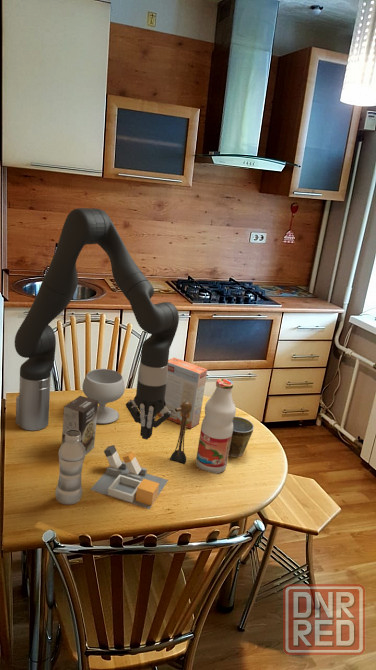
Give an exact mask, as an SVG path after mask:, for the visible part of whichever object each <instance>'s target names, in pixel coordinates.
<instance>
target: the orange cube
mask: <svg viewBox="0 0 376 670" xmlns="http://www.w3.org/2000/svg"><path fill="white" fill-rule="evenodd" d="M158 491H159V483H156V482H153V481H150V480H147V479H143V480H142V482H141V483H140V484H139V486H138V487H137V493H136V501H138V502H141V503H144V504H147V505H151V507H153V505H154V503H155V502H156V500H157V499H158V496H159V495H158ZM156 498H157V499H156ZM154 501H155V502H154ZM152 504H153V505H152Z"/></svg>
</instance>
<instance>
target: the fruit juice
mask: <svg viewBox="0 0 376 670" xmlns="http://www.w3.org/2000/svg"><path fill="white" fill-rule="evenodd" d="M215 387H216V388H215V389H214V391H213V394H212V395H211V397H210V398H209V399H208V400H207V402H206V403H205V404H204V405H205V406H204V417H203V419H202V422H201V426H200V434H199V439H198V444H197V452H196V457H195V464H196V466H197V468H198V469H200V470H202V471H204V472H209V473H212V474H220V473H221V474H222V472H224V471H225V470H226V467H227V465H228V460H229V459H228V458H229V450H230V444H231V438H232V433H233V419H234V417H236V413H237V406H236V405H235V402H234V399H233V395H232V390H233V387H234V382H233V381H232V380H231V379H227V378H219V379H216V382H215Z"/></svg>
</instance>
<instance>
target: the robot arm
mask: <svg viewBox="0 0 376 670" xmlns="http://www.w3.org/2000/svg"><path fill="white" fill-rule="evenodd" d="M96 244H97V245H98V246H99V247H100V248H101V249H102V250H103V251H104V252H105V254H106V255H107V256H108V258H109V262H110V266H111V273H112V276H113V279H114V282H115V284H116V286H117V287H118V288H119V290H120V291H121V292H122V293H121V294H123V296H124V297H125V298H126V299H127V301H128V302H129V304H130V308H131V310H132V313H133V315H134V318H135V319H136V322H137V324H138V326H139V327H140V329H141V330H142V331H144V332H145V333H146V334H149V335H150V336H149V337H148V338H146V339H145V340H144V341H143V342H142V345H141V352H140V360H139V366H138V371H137V382H136V383H137V384H136V391H135V396H134V398H133V399H129V400H128V401H127V402H126V403H125V406H126V408H127V410H128V412H129V414H130V415H131V417H132V419H133V420H134V422H135V423H138V424H140V437H141V439H143V440H149V439H150V438H151V437H152V435H153V430H154V429H155V428H158V427H159V426H161V425H162V424H163V423H164V422H165V421H167V420H169V419H168V418H169V417H170V416H171V414H172V413H173V411H172V410H168V408H167V407H166V403H165V392H166V384H167V379H168V376H167V375H168V360H169V359H170V358H169V357H170V349H171V346H172V343H173V341H174V339H175V336H176V333H177V331H178V327H179V322H180V316H179V311H178V308H177V307H176V306H175V304H173V303H171V302H169V301H163V302H158V303H153V302H152V298H153V296H154V294H155V289H154V286H153V285H152V284H151V282H150V281H149V279H148V278H147V277H146V275H145V274H144V273H143V271H142V270H141V268H139V267H138V264H137V263H136V262H135V260H134V259H133V258H132V256H131V255H130V253H129V251H128V249H127V247H126V245H125V242H124V241H123V240H122V238H121V236H120V234H119V232H118V230H117V228H116V226H115V224H114V223H113V221H112V219H111V217H110V216H109V215H108V214H107V212H106V211H104V210H103V209H100V208H87V207H86V208H85V207H81V208H74V209H72V210H71V211H70V212H69V213H68V214H67V216H66V218H65V221H64V223H63V226H62V229H61V233H60V235H59V239H58V243H57V246H56V249H55V251H54V254H53V256H52V259H51V262H50V264H49V267H48V268H47V271H46V273H45V275H44V277H43V279H42V281H41V283H40V286H39V289H38V291H37V294H36V295H35V298H34V300H33V302H32V304H31V306H30V308H29V311H28V312H27V313H26V316H25V318H24V320H23V321H22V323H21V324H20V326H19V327H18V330H17V331H16V334H15V336H14V348H15V351H16V353H17V355H18V356H19V357H21V358H25V359H27V360H25V361H24V362H23V363H22V364H21V366H20V367H19V390H18V391H19V392H18V393H19V395H17V396H16V399H15V401H16V402H15V404H16V405H15V424H16V425H17V426H19V427H20V429H23V430H25V431H40V430H43V429H45V428H47V426H48V425H49V417H50V401H51V400H50V398H51V397H50V396H51V394H50V393H51V380H52V379H51V378H52V376H51V375H52V370H53V369H54V368H53V367H54V365H55V357H56V347H57V346H56V345H57V342H56V341H57V340H56V335H55V331H54V328H53V327H52V326H50V325H49V324H51V323H52V321H54V320H55V319H57V317H58V316H59V315H60V314H61V313H62V312H63V311H65V309H66V308H67V307H68V305H69V304H70V303H71V301H72V299H73V297H74V295H75V293H76V291H77V288H78V285H79V276H78V270H77V260H78V258H79V255H80V253H81V252H82V250H83V249H84V247H85V246H86V245H96ZM161 410H163V412H162V416H159V418H157V420H156V417H157V415H158V413H159V412H160V411H161ZM153 428H154V429H153Z"/></svg>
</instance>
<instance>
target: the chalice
mask: <svg viewBox="0 0 376 670" xmlns="http://www.w3.org/2000/svg"><path fill="white" fill-rule="evenodd" d="M125 388H126V386H125V380H124V378H123V375H122V374H121V373H119V372H118V371H116V370H113V369H108V368H96V369H93V370H90V371H89V372H88V373H87V374H86V375H85V377H84V379H83V381H82V388H81V389H82V392H83V394H84V395H85V396H84V397H87V398H91V399H94V400H97V401H98V408H97V420H96V424H102V425H104V424H112V423H114V422H116V421H118V420H119V417H120V413H119V412H118V411H117V410H116V409H114V408H112V407H109V406H106V405H107V404H108V403H113V402H115V401H116V402H117V400H120V399H121V398H122V396H124V393H125Z"/></svg>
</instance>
